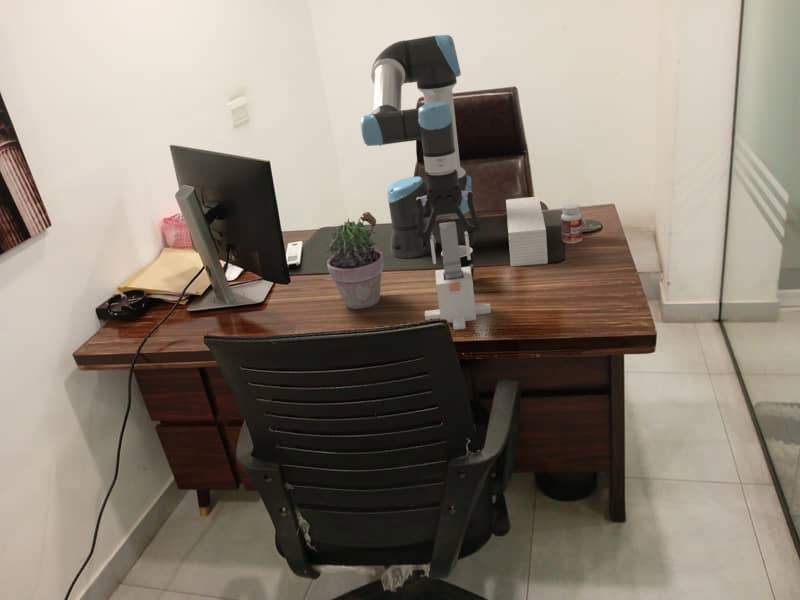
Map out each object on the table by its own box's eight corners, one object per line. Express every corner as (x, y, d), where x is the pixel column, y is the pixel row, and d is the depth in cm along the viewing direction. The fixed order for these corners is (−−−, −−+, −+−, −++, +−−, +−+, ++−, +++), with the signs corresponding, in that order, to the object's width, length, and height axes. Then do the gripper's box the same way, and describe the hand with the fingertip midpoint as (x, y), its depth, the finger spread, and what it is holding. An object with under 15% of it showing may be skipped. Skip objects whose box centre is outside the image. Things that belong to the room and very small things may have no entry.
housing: (425, 303, 182) (420, 266, 178) (487, 296, 181) (484, 258, 176) (425, 332, 167) (420, 293, 162) (493, 325, 166) (490, 284, 161)
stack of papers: (508, 230, 226) (505, 199, 222) (540, 227, 224) (538, 196, 220) (510, 267, 197) (508, 232, 193) (547, 264, 196) (545, 229, 191)
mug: (474, 290, 186) (470, 256, 181) (442, 291, 188) (438, 258, 184) (478, 273, 196) (475, 240, 192) (448, 274, 198) (444, 242, 194)
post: (449, 309, 176) (438, 223, 166) (465, 307, 176) (455, 221, 166) (449, 316, 172) (439, 228, 162) (466, 314, 172) (456, 226, 162)
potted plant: (313, 310, 188) (295, 227, 178) (361, 284, 201) (346, 204, 191) (358, 324, 177) (342, 235, 166) (406, 294, 189) (393, 210, 179)
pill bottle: (572, 245, 205) (571, 210, 200) (557, 241, 210) (556, 207, 205) (586, 239, 208) (585, 204, 203) (571, 235, 213) (570, 201, 208)
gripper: (397, 180, 156) (410, 270, 165) (486, 169, 154) (494, 260, 163) (398, 172, 162) (410, 259, 172) (483, 161, 161) (491, 249, 170)
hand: (451, 259), depth 168 cm, fingers open, 8 cm apart
